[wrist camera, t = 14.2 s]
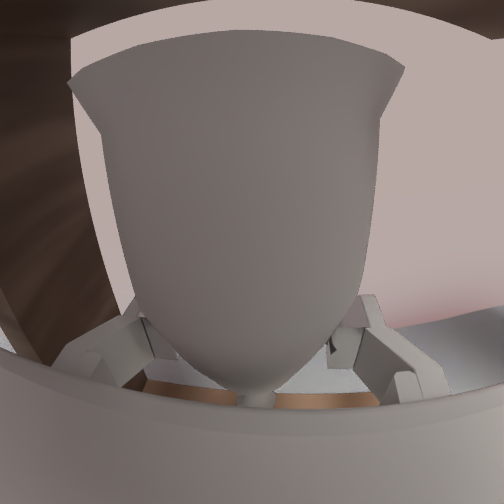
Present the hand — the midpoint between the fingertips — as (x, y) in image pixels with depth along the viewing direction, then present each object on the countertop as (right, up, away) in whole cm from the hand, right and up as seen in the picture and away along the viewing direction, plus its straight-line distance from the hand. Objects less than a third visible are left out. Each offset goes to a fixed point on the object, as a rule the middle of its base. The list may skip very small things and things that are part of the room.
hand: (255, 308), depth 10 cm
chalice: (0, -10, +5) cm, 11 cm away
